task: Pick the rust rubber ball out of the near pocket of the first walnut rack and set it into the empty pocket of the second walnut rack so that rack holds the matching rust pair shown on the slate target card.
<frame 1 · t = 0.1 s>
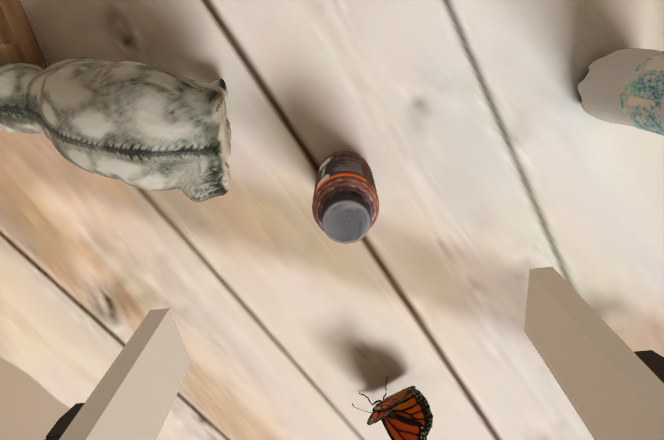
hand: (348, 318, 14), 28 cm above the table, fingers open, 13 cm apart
butterfly: (386, 387, 54), on the table
supplement bottle: (344, 176, 41), on the table
bottle: (603, 83, 37), on the table
figurine: (152, 107, 38), on the table, touching rack A
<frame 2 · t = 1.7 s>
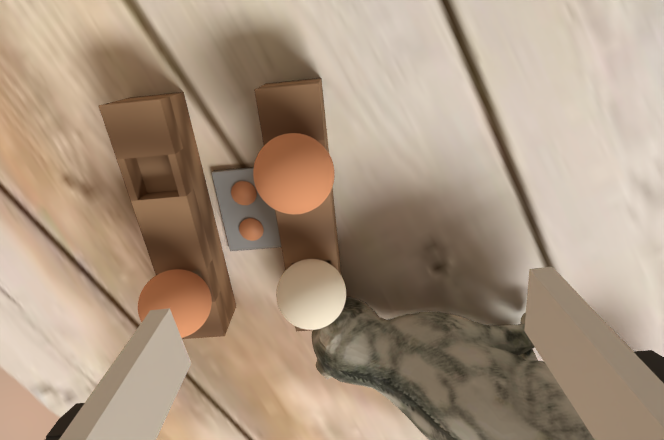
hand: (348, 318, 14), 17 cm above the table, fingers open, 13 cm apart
target card: (248, 209, 31), on the table
rust ball 2: (176, 303, 28), point 6 cm above the table, touching rack B
rack A: (309, 204, 31), on the table
rust ball 1: (294, 174, 24), point 6 cm above the table, touching rack A
rack B: (189, 214, 32), on the table
figurine: (444, 325, 36), on the table, touching rack A
cream ball: (311, 293, 28), point 6 cm above the table, touching rack A
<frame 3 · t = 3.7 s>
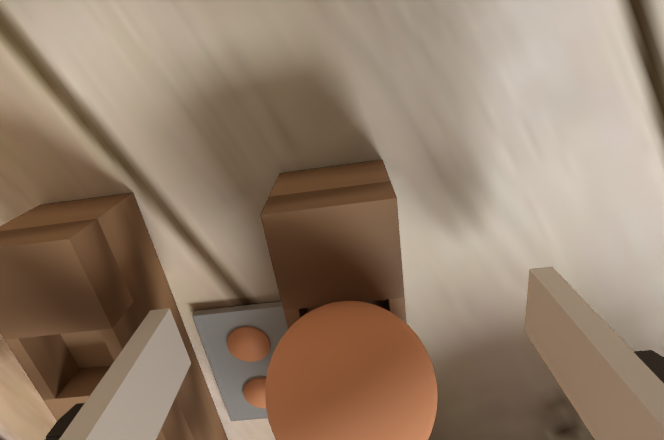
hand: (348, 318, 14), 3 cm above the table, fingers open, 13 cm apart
target card: (258, 362, 19), on the table
rack A: (358, 352, 19), on the table
rust ball 1: (350, 386, 11), point 6 cm above the table, touching rack A
rack B: (162, 371, 19), on the table
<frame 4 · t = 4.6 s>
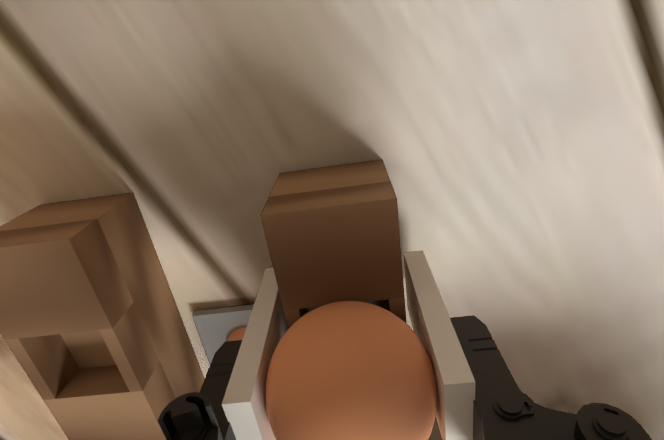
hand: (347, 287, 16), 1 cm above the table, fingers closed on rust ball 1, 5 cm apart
target card: (258, 362, 19), on the table
rack A: (358, 352, 19), on the table
rust ball 1: (350, 386, 11), point 6 cm above the table, touching gripper, rack A
rack B: (162, 371, 19), on the table
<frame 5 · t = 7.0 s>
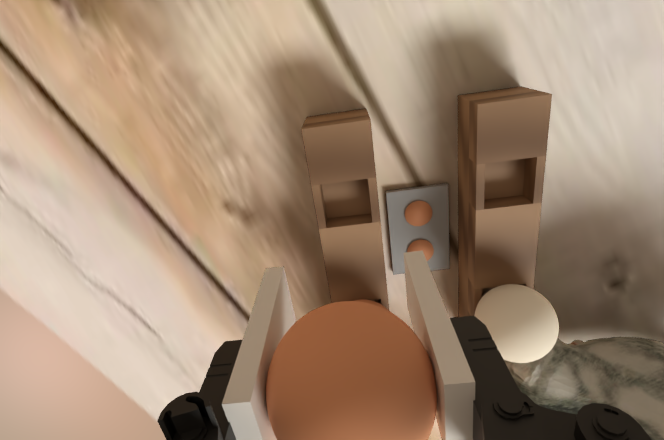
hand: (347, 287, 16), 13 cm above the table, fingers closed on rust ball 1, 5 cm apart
target card: (418, 230, 29), on the table
rack A: (485, 222, 29), on the table
rust ball 1: (350, 386, 11), point 18 cm above the table, touching gripper
rack B: (353, 237, 30), on the table
figurine: (615, 348, 33), point 1 cm above the table, touching rack A
cream ball: (514, 322, 25), point 6 cm above the table, touching rack A
when the fingers open (2 cm above the table, at t = 9.5 s): rust ball 1 stays where it is, resting on rack B.
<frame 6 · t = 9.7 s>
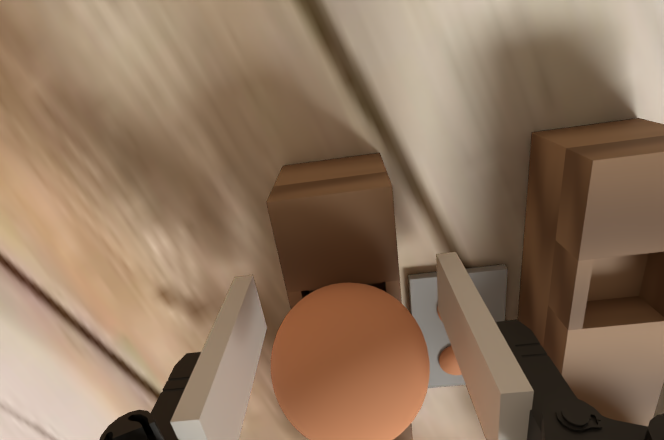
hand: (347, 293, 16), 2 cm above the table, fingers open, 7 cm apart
target card: (456, 328, 19), on the table
rack A: (559, 318, 19), on the table
rust ball 1: (349, 361, 12), point 6 cm above the table, touching rack B
rack B: (357, 338, 20), on the table
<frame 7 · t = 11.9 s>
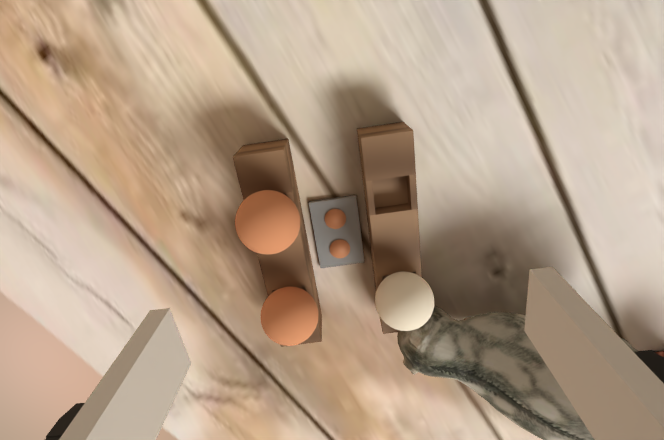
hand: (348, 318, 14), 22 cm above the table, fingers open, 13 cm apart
target card: (337, 232, 37), on the table
rust ball 2: (289, 315, 33), point 6 cm above the table, touching rack B
rack A: (389, 224, 37), on the table
rust ball 1: (268, 222, 30), point 6 cm above the table, touching rack B
rack B: (286, 239, 37), on the table
figurine: (502, 322, 41), on the table, touching rack A
cream ball: (404, 300, 33), point 6 cm above the table, touching rack A
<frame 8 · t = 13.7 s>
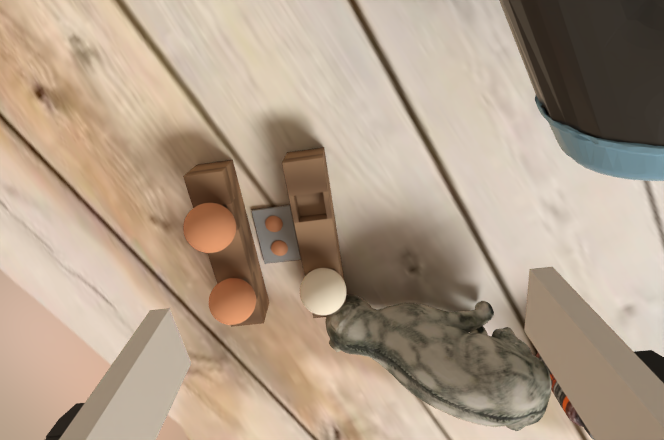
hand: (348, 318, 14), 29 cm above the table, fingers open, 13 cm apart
target card: (277, 234, 45), on the table
rust ball 2: (232, 301, 42), point 6 cm above the table, touching rack B
rack A: (319, 229, 45), on the table
rust ball 1: (210, 227, 38), point 6 cm above the table, touching rack B
rack B: (236, 239, 45), on the table
supplement bottle: (555, 353, 52), on the table
figurine: (421, 313, 49), on the table, touching rack A
cream ball: (323, 291, 41), point 6 cm above the table, touching rack A
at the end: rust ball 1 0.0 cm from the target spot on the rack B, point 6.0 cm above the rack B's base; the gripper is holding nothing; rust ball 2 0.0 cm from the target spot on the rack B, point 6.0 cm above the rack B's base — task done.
